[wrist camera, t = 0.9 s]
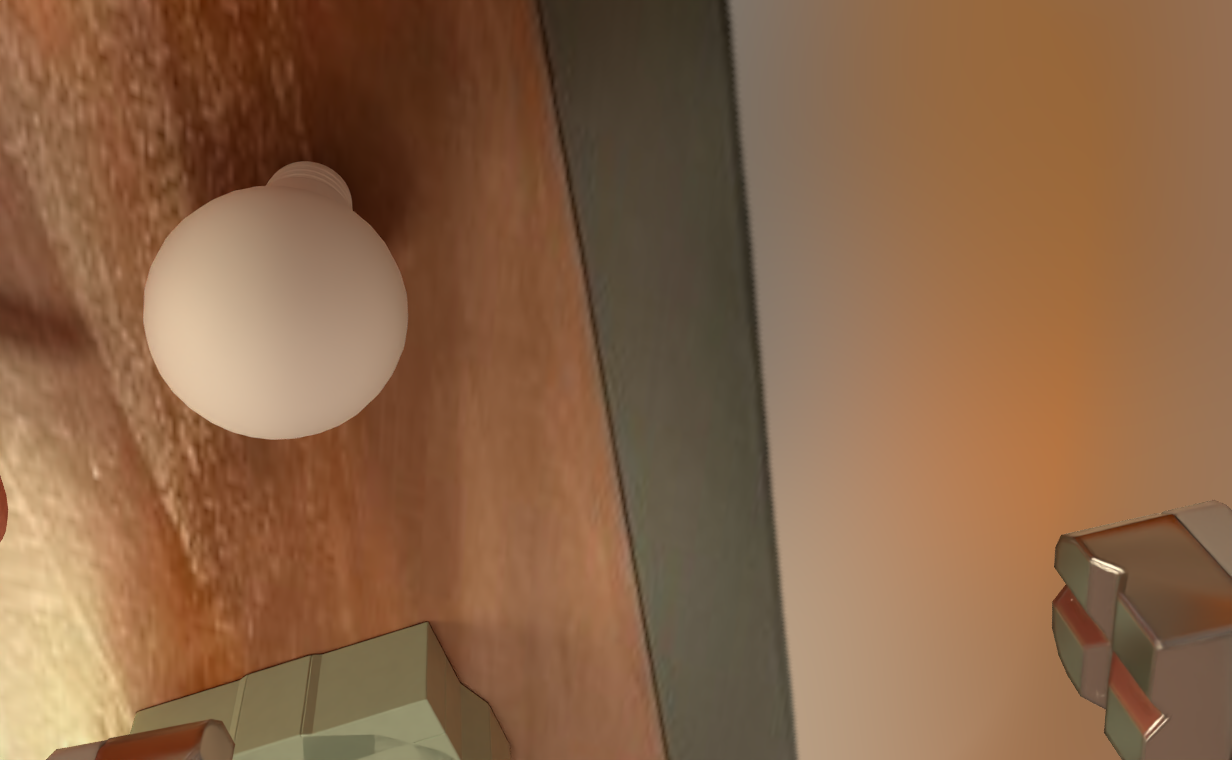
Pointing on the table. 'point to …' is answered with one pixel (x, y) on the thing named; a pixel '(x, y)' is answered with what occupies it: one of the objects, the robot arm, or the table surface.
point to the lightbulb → (276, 307)
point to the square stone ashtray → (349, 707)
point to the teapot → (3, 510)
